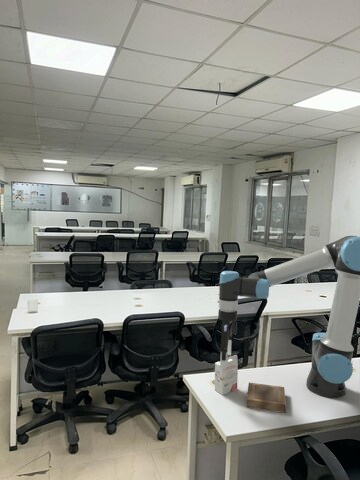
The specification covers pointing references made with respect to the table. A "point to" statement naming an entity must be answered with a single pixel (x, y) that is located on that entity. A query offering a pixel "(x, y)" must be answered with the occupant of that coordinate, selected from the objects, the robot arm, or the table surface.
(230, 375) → the ink cartridge box
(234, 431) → the table surface
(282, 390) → the walnut base
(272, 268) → the robot arm
